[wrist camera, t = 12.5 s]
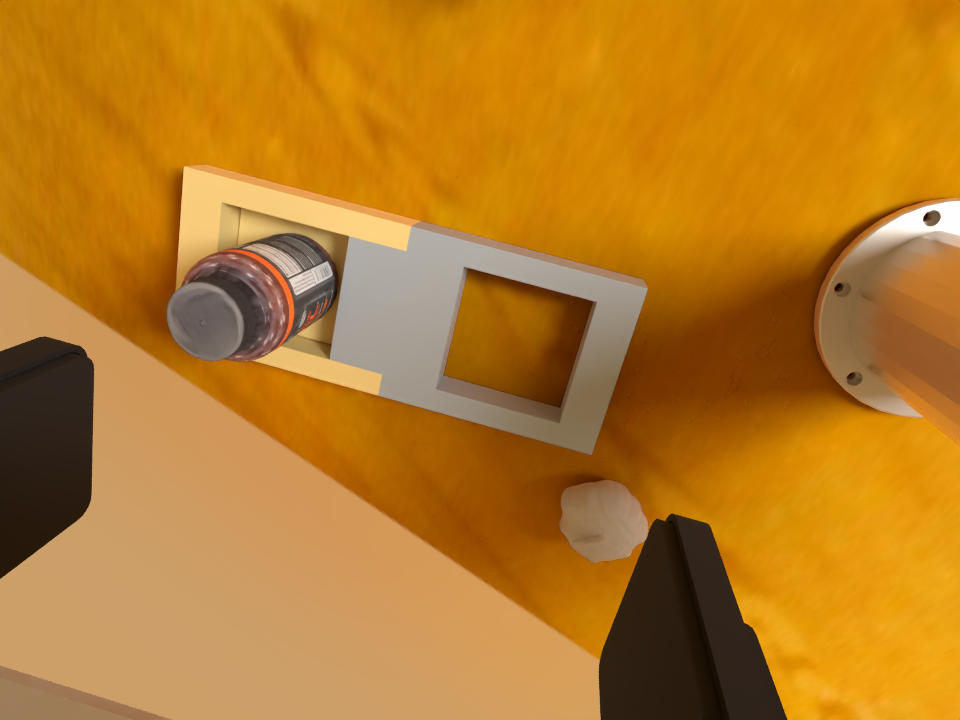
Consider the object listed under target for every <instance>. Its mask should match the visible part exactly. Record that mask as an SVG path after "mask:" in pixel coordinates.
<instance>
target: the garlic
mask: <svg viewBox="0 0 960 720" xmlns="http://www.w3.org/2000/svg"><path fill="white" fill-rule="evenodd" d="M560 504H561V509H562V512H563V513H562V517H561V519H560V523H559V526H560V530H561V532H562V533H563V534H564V535H565V536H566V538H567V540H568V543H569V545H570V546H571V548H572V549H573V550H575V551H577V552H578V553H579V554H580V555H582V556H583V557H585V558H586V559H588V560H590V561H591V562H593V563H597V562H599V561H603V560H606V561H612V560H615V559H623V558H627V557H629V556H630V555H631V554H632V550H633V549H634V548H635V547H636V546H637V545H638V544H641V543H643V542H644V541H645V540H646V538H647V535H648V521H647V518H646V517H645V515H644V513H643V511H642V509H641V504H640V502H639V501H638V499H636V498H635V497H634V496H633V495H632V494H630V493H629V491H628V489H627V488H626V487H625V486H624V485H622V484H620V483H619V482H616V481H613V480H601V481H596V482H588V483H582V484H580V485H575V486H570V487H568V488H566V489H565V490H564V491H563V493H562V497H561V502H560Z"/></svg>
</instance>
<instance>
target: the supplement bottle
mask: <svg viewBox="0 0 960 720" xmlns="http://www.w3.org/2000/svg"><path fill="white" fill-rule="evenodd" d="M338 286H339V281H338V274H337V271H336V267H335V264H334V262H333V260H332V258H331V257H330V255H329V254H328V252H327V251H326V250H325V249H324V248H323V247H322V246H321V245H320V244H319V243H317V242H316V241H314V240H313V239H311V238H309V237H307V236H304V235H301V234H296V233H283V234H277V235H272V236H269V237H266V238H263V239H259V240H256V241H252V242H249V243H246V244H242V245H239V246H236V247H233V248H230V249H226V250H222V251H220V252H217V253H214V254H211V255H209V256H206V257H205V258H203V259H201V260H199V261H198V262H197V263H196V264H195V265H193V266H192V267H191V269H190V270H189V271H188V272H187V274H186V275H185V277H184V280H183V282H182V285H181V287H180V288H179V289H178V290H176V291H175V292H174V293H173V295H172V296H171V298H170V300H169V302H168V305H167V312H166V313H167V317H166V318H167V323H168V327H169V330H170V333H171V335H172V336H173V338H174V340H175V341H176V343H177V344H178V345H179V346H180V347H181V348H182V349H183V350H185V351H186V352H187V353H189V354H190V355H192V356H194V357H196V358H198V359H202V360H205V361H219V360H222V359H225V360H229V361H237V362H246V361H253V360H256V359H259V358H261V357H264V356H266V355H267V354H269V353H271V352H272V351H274V350H276V349H277V348H279V347H280V346H282V345H283V344H284V343H285V342H287V341H289V340H290V339H291V338H293V337H294V336H296V335H297V334H298V333H300V332H301V331H303V330H304V329H306V328H307V327H309V326H310V325H312V324H313V323H315V322H316V321H318V320H319V319H320V318H322V317H323V316H324V315H325V314H326V313H327V312H328V310H329V309H330V308H331V306H332V305H333V303H334V301H335V299H336V295H337V292H338Z"/></svg>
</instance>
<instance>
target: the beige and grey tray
mask: <svg viewBox="0 0 960 720" xmlns="http://www.w3.org/2000/svg"><path fill="white" fill-rule="evenodd" d="M240 215H241V216H240ZM283 233H296V234H301V235H304V236H307V237H309V238H311V239H313V240H314V241H316V242H317V243H319V244H320V245H321V246H322V247H323V248H324V249H325V250H326V251H327V252H328V254H329V255H330V257H331V258H332V260H333V262H334V264H335V267H336V271H337V274H338V281H339V286H338V292H337V295H336V299H335V301H334V303H333V305H332V306H331V308H330V309H329V310H328V312H327V313H326V314H325V315H324V316H323V317H322V318H320V319H319V320H318V321H316V322H315V323H313V324H312V325H310V326H309V327H307V328H306V329H304V330H303V331H301V332H300V333H298V334H297V335H296V336H294V337H293V338H291V339H290V340H289V341H287V342H285V343H284V344H283V345H282V346H280V347H279V348H277V349H276V350H274V351H272V352H271V353H269V354H267V355H266V356H264V357H261V358H259V359H256V360H253V361H256V362H260V363H263V364H267V365H270V366H274V367H277V368H281V369H285V370H288V371H292V372H295V373H299V374H302V375H306V376H310V377H313V378H317V379H320V380H324V381H328V382H331V383H335V384H338V385H342V386H345V387H349V388H353V389H356V390H360V391H363V392H367V393H370V394H374V395H378V396H381V397H385V398H388V399H392V400H395V401H399V402H403V403H406V404H410V405H413V406H417V407H421V408H424V409H428V410H431V411H435V412H438V413H442V414H446V415H449V416H453V417H456V418H460V419H463V420H467V421H471V422H474V423H478V424H481V425H485V426H488V427H492V428H496V429H499V430H503V431H506V432H510V433H514V434H517V435H521V436H524V437H528V438H531V439H535V440H539V441H542V442H546V443H549V444H553V445H556V446H560V447H564V448H567V449H571V450H574V451H578V452H582V453H585V454H589V455H592V453H593V450H594V447H595V444H596V441H597V438H598V435H599V432H600V429H601V426H602V423H603V420H604V417H605V414H606V412H607V409H608V406H609V403H610V400H611V397H612V394H613V391H614V388H615V385H616V382H617V379H618V376H619V373H620V370H621V367H622V364H623V361H624V358H625V355H626V352H627V350H628V347H629V344H630V341H631V338H632V335H633V332H634V329H635V326H636V323H637V320H638V317H639V314H640V311H641V308H642V305H643V302H644V299H645V296H646V293H647V290H648V287H647V285H646V283H645V281H644V280H643V279H639V278H636V277H632V276H628V275H624V274H620V273H617V272H613V271H609V270H605V269H601V268H598V267H594V266H590V265H586V264H582V263H579V262H575V261H571V260H567V259H563V258H560V257H556V256H552V255H548V254H544V253H540V252H537V251H533V250H529V249H525V248H521V247H518V246H514V245H510V244H506V243H502V242H499V241H495V240H491V239H487V238H483V237H480V236H476V235H472V234H468V233H464V232H461V231H457V230H453V229H449V228H445V227H442V226H438V225H434V224H430V223H426V222H423V221H419V220H415V219H411V218H407V217H404V216H400V215H396V214H392V213H388V212H385V211H381V210H377V209H373V208H369V207H366V206H362V205H358V204H354V203H350V202H346V201H343V200H339V199H335V198H331V197H327V196H324V195H320V194H316V193H312V192H308V191H305V190H301V189H297V188H293V187H289V186H286V185H282V184H278V183H274V182H270V181H267V180H263V179H259V178H255V177H251V176H248V175H244V174H240V173H236V172H232V171H229V170H225V169H221V168H217V167H213V166H210V165H196V166H184V172H183V187H182V202H181V217H180V232H179V247H178V262H177V277H176V290H178V289H179V288H180V287H181V285H182V282H183V280H184V277H185V275H186V274H187V272H188V271H189V270H190V269H191V267H192V266H193V265H195V264H196V263H197V262H198V261H199V260H201V259H203V258H205V257H206V256H209V255H211V254H214V253H217V252H220V251H222V250H226V249H230V248H233V247H236V246H239V245H242V244H246V243H249V242H252V241H256V240H259V239H263V238H266V237H269V236H272V235H277V234H283ZM468 268H471V269H475V270H478V271H482V272H486V273H490V274H493V275H497V276H501V277H505V278H508V279H512V280H516V281H520V282H523V283H527V284H531V285H535V286H538V287H542V288H546V289H550V290H554V291H557V292H561V293H565V294H569V295H572V296H576V297H580V298H584V299H587V300H591V301H593V304H592V307H591V310H590V314H589V317H588V320H587V323H586V327H585V330H584V333H583V336H582V339H581V343H580V346H579V349H578V352H577V356H576V359H575V362H574V365H573V369H572V372H571V375H570V378H569V381H568V385H567V388H566V391H565V394H564V398H563V401H562V404H561V407H560V408H559V407H556V406H552V405H548V404H545V403H541V402H538V401H534V400H530V399H527V398H523V397H519V396H516V395H512V394H509V393H505V392H501V391H498V390H494V389H491V388H487V387H483V386H480V385H476V384H472V383H469V382H465V381H462V380H458V379H454V378H451V377H447V376H443V375H444V371H445V366H446V362H447V358H448V353H449V349H450V345H451V341H452V336H453V332H454V328H455V323H456V319H457V315H458V310H459V306H460V302H461V298H462V293H463V289H464V285H465V280H466V276H467V272H468ZM302 336H303V337H302ZM306 337H307V338H306ZM172 338H173V337H172ZM309 338H310V339H309ZM313 339H314V340H313ZM317 340H318V341H317ZM320 341H321V342H320ZM324 342H325V343H324ZM331 344H332V345H331Z"/></svg>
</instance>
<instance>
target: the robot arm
mask: <svg viewBox="0 0 960 720" xmlns="http://www.w3.org/2000/svg"><path fill="white" fill-rule="evenodd" d="M926 212H927V214H928V217H927V218H926V220H924V221H923V216H924V215H925V214H926ZM838 283H840V284H841V287H840V288H839V289H838V290H834V288H835V286H836V285H837V284H838ZM814 333H815V340H816V346H817V349H818V351H819V354H820V356H821V359H822V362H823V364H824V365H825V367H826V368H827V370H828V371H829V373H830V374H831V376H832V377H833V378H834V380H835V381H837V382H838V383H839V384H840V385H841V386H842V387H843V388H844V389H845V390H846V391H847V392H848V393H850V394H851V395H852V396H854V397H855V398H856V399H858V400H859V401H860V402H862V403H864V404H866V405H868V406H870V407H872V408H874V409H876V410H879V411H882V412H886V413H890V414H893V415H897V416H904V417H915V418H925V419H927V420H928V421H929V422H930V423H932V424H933V425H934V426H935V427H937V428H938V429H939V430H940V431H942V432H943V433H944V434H945V435H947V436H948V437H949V438H950V439H952V440H953V441H954V442H956V443H957V444H958V445H959V446H960V198H953V197H952V198H944V199H936V200H928V201H925V202H921V203H918V204H915V205H911V206H908V207H905V208H902V209H900V210H898V211H896V212H894V213H892V214H890V215H888V216H886V217H884V218H882V219H880V220H879V221H877V222H876V223H874V224H873V225H872V226H870V227H869V228H867V229H866V230H864V231H863V232H861V233H860V234H859V235H858V236H857V237H856V238H855V239H854V240H853V241H852V242H851V243H850V244H849V245H848V246H847V247H846V248H845V249H844V250H843V251H842V253H841V254H840V255H839V257H838V258H837V259H836V261H835V262H834V263H833V265H832V266H831V268H830V269H829V271H828V273H827V275H826V277H825V280H824V282H823V284H822V286H821V288H820V291H819V295H818V299H817V302H816V306H815V315H814ZM849 373H852V375H851V376H849V377H847V376H848V375H849ZM93 393H94V365H93V362H92V360H91V359H89V358H88V357H87V354H86V352H85V350H84V349H83V348H82V347H81V346H77V345H74V344H70V343H67V342H63V341H60V340H56V339H52V338H49V337H39V338H36V339H33V340H31V341H28V342H25V343H22V344H20V345H17V346H14V347H11V348H9V349H6V350H3V351H0V578H2V577H3V576H5V575H6V574H7V573H8V572H10V571H11V570H12V569H14V568H15V567H17V566H18V565H19V564H20V563H22V562H23V561H24V560H26V559H27V558H28V557H30V556H31V555H32V554H34V553H35V552H36V551H37V550H39V549H40V548H41V547H43V546H44V545H45V544H47V543H48V542H49V541H51V540H52V539H53V538H55V537H56V536H57V535H59V534H60V533H61V532H62V531H64V530H65V529H66V528H68V527H69V526H70V525H72V524H73V523H74V522H76V521H77V520H78V519H79V518H80V517H81V516H83V514H84V513H85V512H86V510H87V508H88V506H89V504H90V501H91V490H92V442H93V440H92V439H93V437H92V436H93ZM599 689H600V713H601V720H787V717H786V715H785V712H784V709H783V706H782V704H781V701H780V698H779V695H778V693H777V690H776V687H775V685H774V682H773V679H772V676H771V674H770V671H769V668H768V665H767V663H766V660H765V657H764V654H763V652H762V649H761V646H760V644H759V641H758V638H757V636H756V634H755V632H754V630H753V628H752V627H750V626H749V625H748V624H745V623H744V622H743V619H742V616H741V613H740V610H739V607H738V604H737V601H736V599H735V596H734V593H733V590H732V587H731V584H730V581H729V579H728V576H727V573H726V570H725V567H724V564H723V561H722V559H721V556H720V553H719V550H718V547H717V544H716V541H715V539H714V536H713V533H712V530H711V527H710V526H709V524H707V523H704V522H700V521H697V520H693V519H690V518H686V517H683V516H679V515H675V514H670V515H669V516H668V518H667V519H666V521H663V520H659V519H656V520H655V521H654V522H653V524H652V526H651V528H650V531H649V533H648V536H647V538H646V541H645V543H644V546H643V548H642V551H641V553H640V556H639V559H638V561H637V564H636V566H635V569H634V571H633V574H632V576H631V579H630V581H629V584H628V586H627V589H626V591H625V594H624V597H623V599H622V602H621V604H620V607H619V609H618V612H617V614H616V617H615V619H614V622H613V624H612V627H611V629H610V632H609V635H608V637H607V640H606V642H605V645H604V647H603V650H602V654H601V658H600V664H599ZM0 720H171V719H168V718H165V717H161V716H158V715H155V714H152V713H148V712H146V711H142V710H139V709H136V708H133V707H130V706H127V705H124V704H120V703H117V702H114V701H111V700H108V699H105V698H101V697H98V696H95V695H92V694H88V693H85V692H82V691H79V690H76V689H73V688H69V687H66V686H63V685H60V684H56V683H53V682H50V681H47V680H43V679H41V678H37V677H34V676H31V675H28V674H24V673H21V672H18V671H15V670H12V669H9V668H6V667H2V666H0Z"/></svg>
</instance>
